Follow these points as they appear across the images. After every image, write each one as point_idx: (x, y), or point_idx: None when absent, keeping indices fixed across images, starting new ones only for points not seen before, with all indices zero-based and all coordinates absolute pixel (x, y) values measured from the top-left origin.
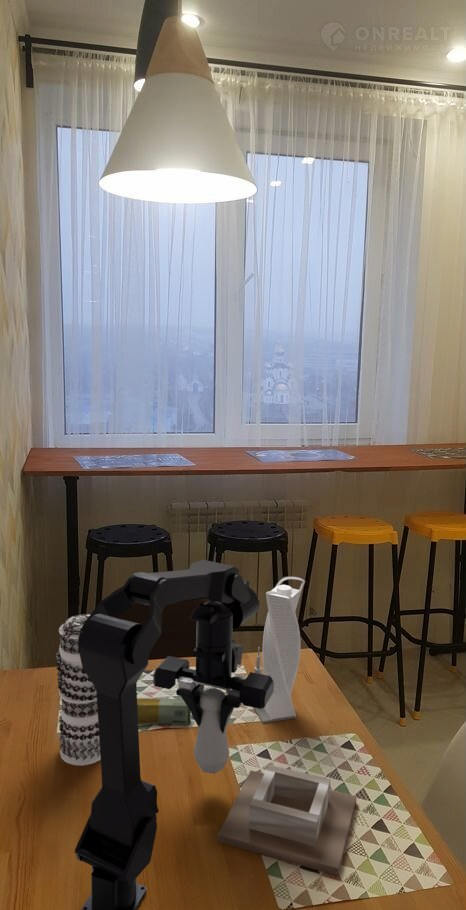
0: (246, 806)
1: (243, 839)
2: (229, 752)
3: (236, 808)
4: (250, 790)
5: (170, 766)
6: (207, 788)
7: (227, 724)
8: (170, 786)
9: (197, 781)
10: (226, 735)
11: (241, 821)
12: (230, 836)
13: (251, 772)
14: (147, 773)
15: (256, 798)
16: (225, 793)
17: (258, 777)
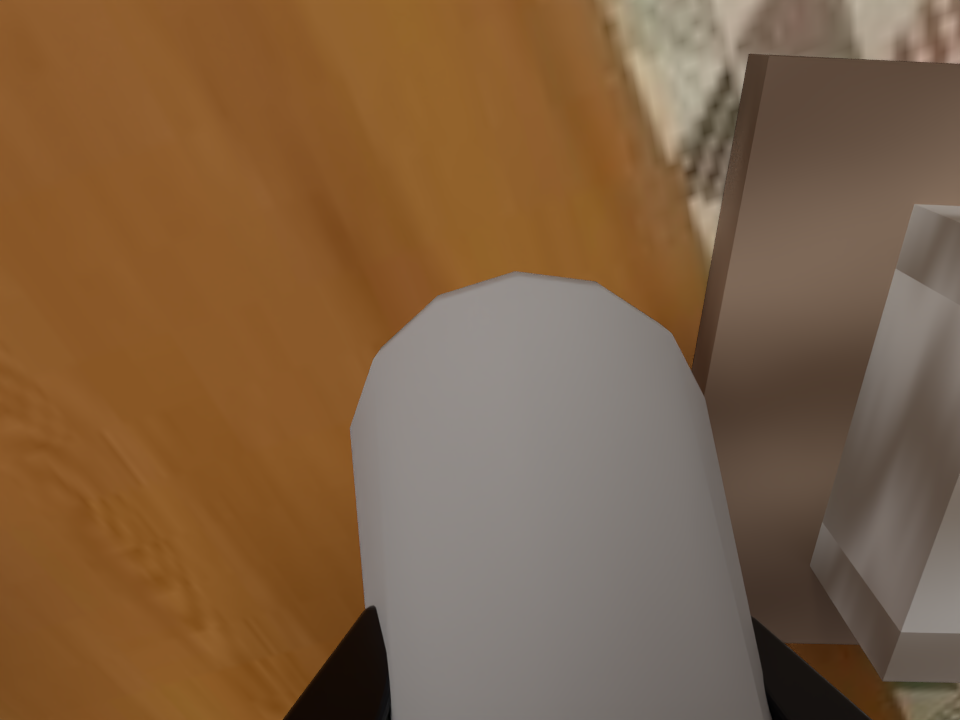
0: (779, 429)
1: (788, 631)
2: (705, 402)
3: (721, 460)
4: (791, 287)
5: (130, 139)
6: (477, 278)
7: (819, 684)
8: (244, 335)
9: (388, 234)
10: (731, 525)
11: (764, 538)
12: None
13: (779, 84)
14: (31, 267)
15: (926, 628)
16: (605, 286)
17: (839, 127)
